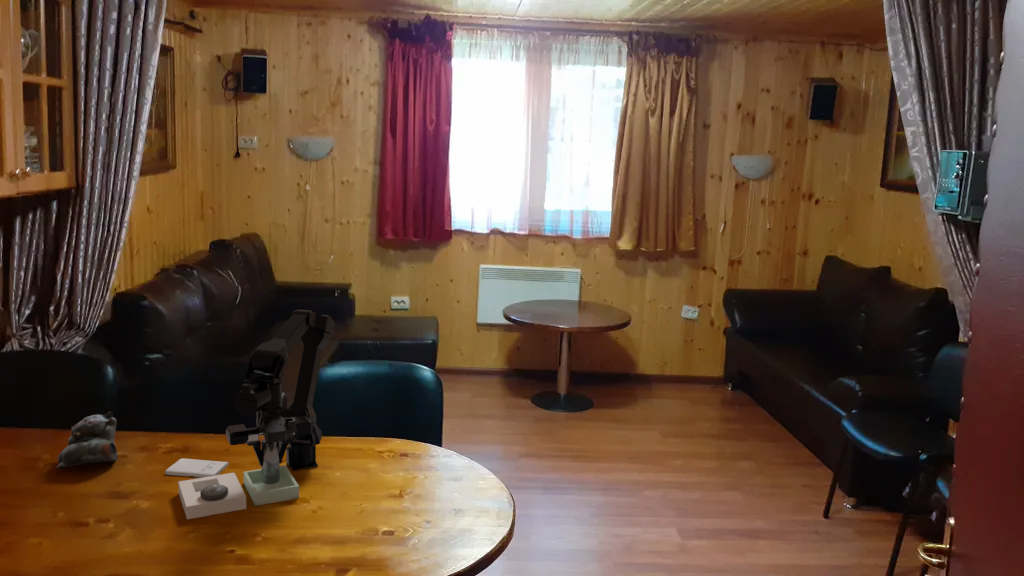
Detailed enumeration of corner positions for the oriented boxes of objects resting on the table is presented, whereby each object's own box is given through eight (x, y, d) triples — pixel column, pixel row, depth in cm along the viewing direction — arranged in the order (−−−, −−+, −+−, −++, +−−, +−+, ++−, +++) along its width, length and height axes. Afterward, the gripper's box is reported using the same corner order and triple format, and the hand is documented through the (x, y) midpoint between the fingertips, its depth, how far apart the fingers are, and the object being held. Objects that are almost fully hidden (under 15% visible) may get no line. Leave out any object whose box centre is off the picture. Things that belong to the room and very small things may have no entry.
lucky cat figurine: (44, 469, 198) (49, 412, 202) (86, 471, 208) (91, 417, 212) (89, 462, 192) (93, 404, 196) (130, 465, 203) (133, 410, 207)
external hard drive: (181, 463, 206) (228, 467, 205) (165, 476, 198) (214, 480, 197) (181, 457, 206) (228, 461, 204) (165, 470, 198) (213, 474, 196)
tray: (285, 476, 199) (285, 465, 199) (299, 497, 188) (298, 485, 187) (243, 483, 194) (243, 471, 194) (255, 506, 183) (254, 493, 183)
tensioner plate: (234, 484, 194) (234, 463, 193) (246, 508, 182) (245, 486, 181) (178, 493, 188) (177, 471, 187) (186, 519, 176) (186, 496, 175)
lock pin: (277, 475, 193) (276, 436, 191) (281, 482, 190) (280, 442, 188) (260, 478, 191) (259, 438, 190) (264, 485, 188) (263, 444, 186)
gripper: (233, 418, 176) (235, 485, 179) (318, 406, 185) (319, 470, 188) (224, 402, 185) (226, 466, 188) (305, 392, 194) (306, 453, 197)
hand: (270, 464), depth 190 cm, fingers closed on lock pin, 4 cm apart
